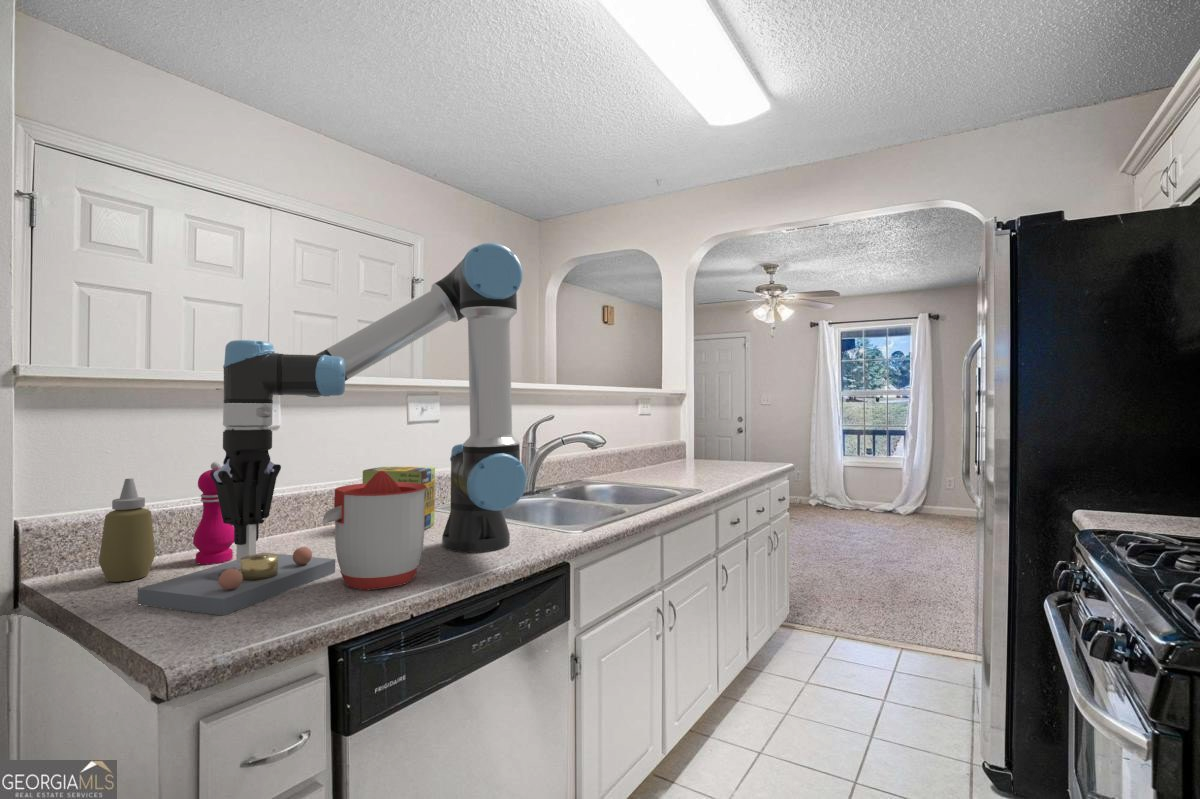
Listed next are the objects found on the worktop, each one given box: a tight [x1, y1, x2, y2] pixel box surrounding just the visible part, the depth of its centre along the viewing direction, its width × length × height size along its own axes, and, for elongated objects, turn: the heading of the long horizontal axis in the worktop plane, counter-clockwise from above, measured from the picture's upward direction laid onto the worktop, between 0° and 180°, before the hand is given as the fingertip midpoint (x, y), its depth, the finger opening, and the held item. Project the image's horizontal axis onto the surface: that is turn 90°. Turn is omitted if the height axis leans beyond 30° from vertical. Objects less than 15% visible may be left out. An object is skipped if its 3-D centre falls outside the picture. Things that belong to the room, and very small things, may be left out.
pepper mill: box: [192, 461, 235, 565], centre depth 119 cm, size 7×7×20 cm
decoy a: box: [292, 546, 313, 565], centre depth 107 cm, size 3×3×3 cm
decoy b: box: [219, 569, 243, 590], centre depth 92 cm, size 3×3×3 cm
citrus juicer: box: [322, 470, 426, 591], centre depth 105 cm, size 16×17×20 cm
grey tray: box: [137, 552, 336, 617], centre depth 102 cm, size 17×24×2 cm
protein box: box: [362, 466, 436, 531], centre depth 151 cm, size 10×15×16 cm
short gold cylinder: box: [240, 552, 278, 580], centre depth 100 cm, size 6×6×3 cm
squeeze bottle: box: [98, 477, 156, 583], centre depth 106 cm, size 8×8×18 cm
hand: (246, 561), depth 104 cm, fingers closed
